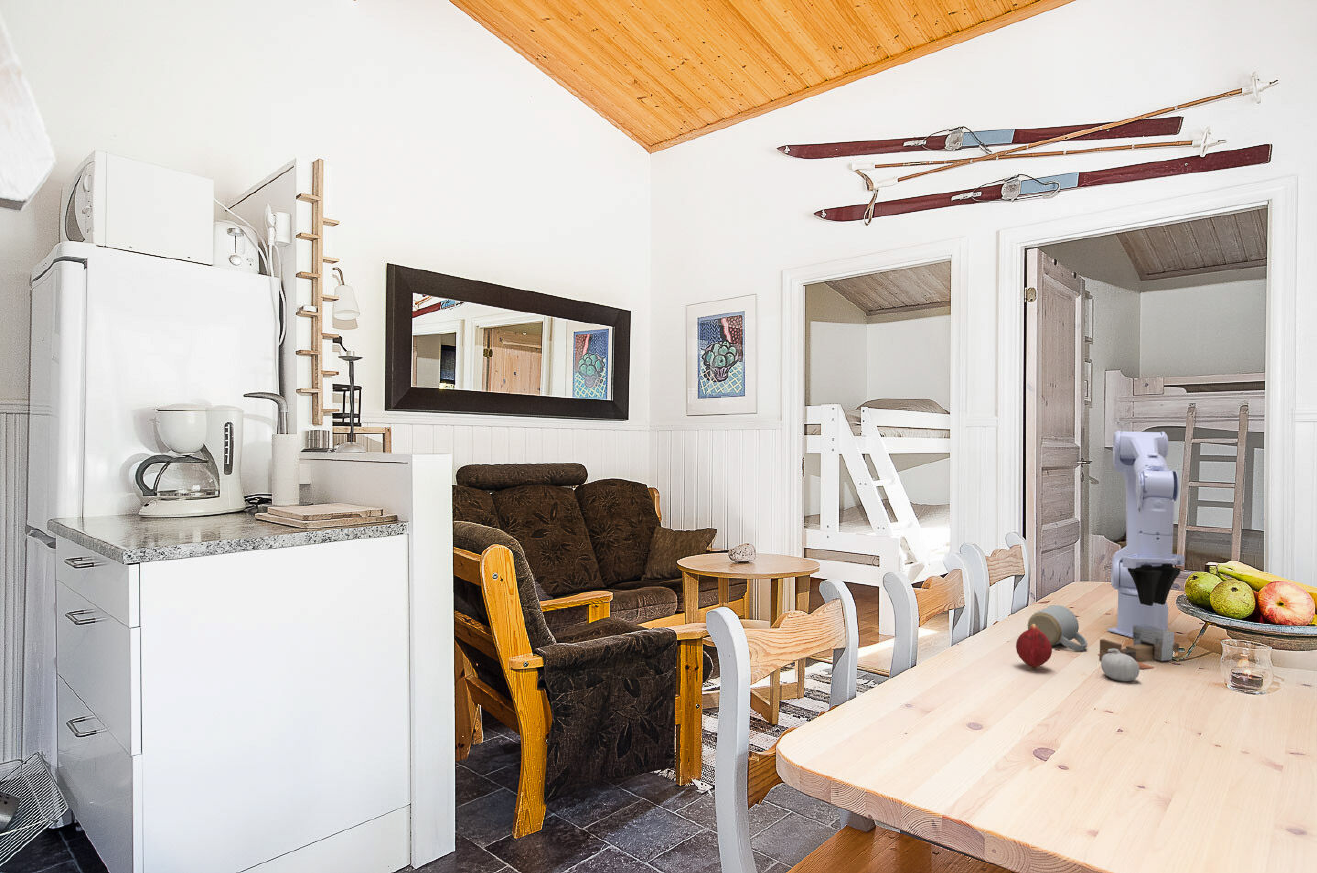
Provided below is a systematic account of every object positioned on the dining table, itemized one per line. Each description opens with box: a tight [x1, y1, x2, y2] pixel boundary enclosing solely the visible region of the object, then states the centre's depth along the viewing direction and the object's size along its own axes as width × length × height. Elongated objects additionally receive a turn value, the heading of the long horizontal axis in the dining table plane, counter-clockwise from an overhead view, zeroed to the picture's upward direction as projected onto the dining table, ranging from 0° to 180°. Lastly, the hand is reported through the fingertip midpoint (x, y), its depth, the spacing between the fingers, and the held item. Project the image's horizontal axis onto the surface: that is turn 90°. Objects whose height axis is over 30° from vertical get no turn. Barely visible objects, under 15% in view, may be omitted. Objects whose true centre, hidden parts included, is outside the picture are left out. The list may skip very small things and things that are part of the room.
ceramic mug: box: [1027, 604, 1088, 652], centre depth 153 cm, size 10×8×7 cm
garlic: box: [1100, 649, 1140, 682], centre depth 133 cm, size 6×5×5 cm
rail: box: [1097, 638, 1180, 670], centre depth 145 cm, size 18×9×4 cm, turn 112°
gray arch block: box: [1132, 624, 1175, 662], centre depth 146 cm, size 3×6×5 cm, turn 22°
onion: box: [1015, 624, 1053, 670], centre depth 137 cm, size 6×6×8 cm
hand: (1152, 604), depth 146 cm, fingers open, 3 cm apart
